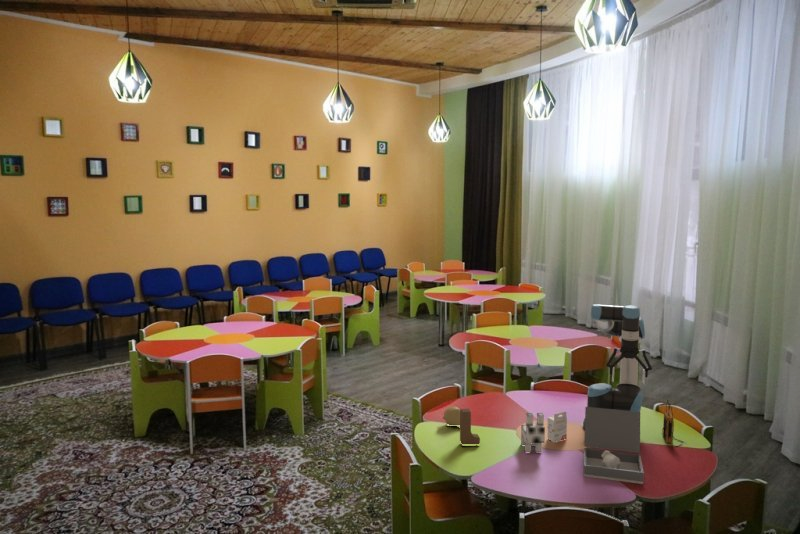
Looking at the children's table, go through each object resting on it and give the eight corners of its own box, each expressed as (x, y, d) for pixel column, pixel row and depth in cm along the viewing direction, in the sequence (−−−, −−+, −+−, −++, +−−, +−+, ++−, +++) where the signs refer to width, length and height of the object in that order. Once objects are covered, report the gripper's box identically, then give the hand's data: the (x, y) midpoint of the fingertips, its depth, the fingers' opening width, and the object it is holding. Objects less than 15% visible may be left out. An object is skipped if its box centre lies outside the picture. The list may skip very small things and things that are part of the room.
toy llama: (535, 441, 290) (535, 403, 287) (544, 458, 272) (545, 417, 270) (519, 442, 290) (520, 403, 287) (528, 458, 272) (528, 417, 269)
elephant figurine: (626, 470, 257) (627, 455, 256) (607, 474, 255) (608, 458, 254) (615, 462, 265) (615, 448, 264) (596, 466, 262) (597, 451, 261)
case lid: (585, 406, 275) (585, 406, 277) (584, 446, 272) (584, 446, 274) (640, 412, 268) (639, 412, 270) (639, 452, 264) (639, 452, 266)
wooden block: (477, 442, 289) (477, 407, 287) (479, 446, 285) (480, 411, 283) (459, 443, 288) (460, 408, 286) (461, 447, 284) (461, 412, 282)
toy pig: (453, 436, 306) (468, 424, 303) (438, 419, 306) (453, 407, 303) (455, 428, 315) (470, 416, 312) (440, 411, 315) (455, 399, 312)
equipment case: (583, 476, 255) (584, 465, 254) (583, 458, 272) (584, 447, 271) (643, 484, 248) (643, 472, 247) (639, 464, 265) (639, 454, 264)
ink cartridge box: (559, 436, 296) (560, 408, 294) (566, 439, 292) (567, 411, 290) (546, 439, 292) (547, 411, 290) (553, 443, 288) (554, 414, 286)
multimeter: (690, 447, 281) (692, 408, 278) (667, 446, 283) (670, 406, 280) (681, 435, 295) (684, 397, 293) (660, 433, 297) (662, 396, 295)
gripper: (602, 339, 275) (600, 382, 278) (659, 342, 268) (657, 387, 271) (601, 335, 282) (600, 377, 285) (657, 338, 275) (655, 382, 278)
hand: (628, 382), depth 278 cm, fingers open, 13 cm apart
